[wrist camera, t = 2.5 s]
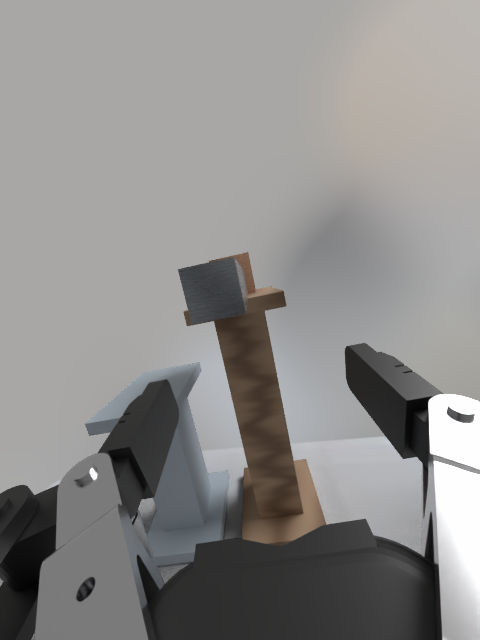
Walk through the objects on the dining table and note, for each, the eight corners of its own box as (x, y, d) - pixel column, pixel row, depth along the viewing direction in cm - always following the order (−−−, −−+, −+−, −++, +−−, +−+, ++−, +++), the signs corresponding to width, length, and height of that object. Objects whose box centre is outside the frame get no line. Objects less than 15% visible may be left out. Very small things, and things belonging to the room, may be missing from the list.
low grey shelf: (136, 578, 29) (80, 424, 25) (173, 481, 43) (140, 373, 39) (220, 568, 28) (175, 408, 24) (230, 473, 42) (202, 361, 38)
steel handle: (174, 328, 12) (149, 234, 12) (223, 296, 36) (216, 264, 35) (264, 309, 12) (245, 211, 11) (254, 289, 36) (248, 257, 35)
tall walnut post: (243, 565, 28) (178, 312, 22) (245, 470, 41) (205, 300, 36) (334, 555, 27) (288, 289, 22) (305, 461, 41) (273, 285, 35)
